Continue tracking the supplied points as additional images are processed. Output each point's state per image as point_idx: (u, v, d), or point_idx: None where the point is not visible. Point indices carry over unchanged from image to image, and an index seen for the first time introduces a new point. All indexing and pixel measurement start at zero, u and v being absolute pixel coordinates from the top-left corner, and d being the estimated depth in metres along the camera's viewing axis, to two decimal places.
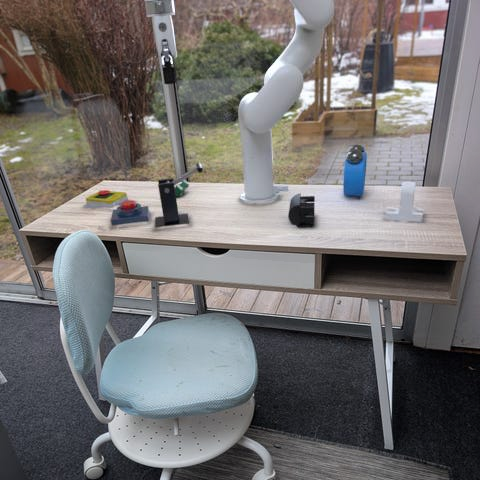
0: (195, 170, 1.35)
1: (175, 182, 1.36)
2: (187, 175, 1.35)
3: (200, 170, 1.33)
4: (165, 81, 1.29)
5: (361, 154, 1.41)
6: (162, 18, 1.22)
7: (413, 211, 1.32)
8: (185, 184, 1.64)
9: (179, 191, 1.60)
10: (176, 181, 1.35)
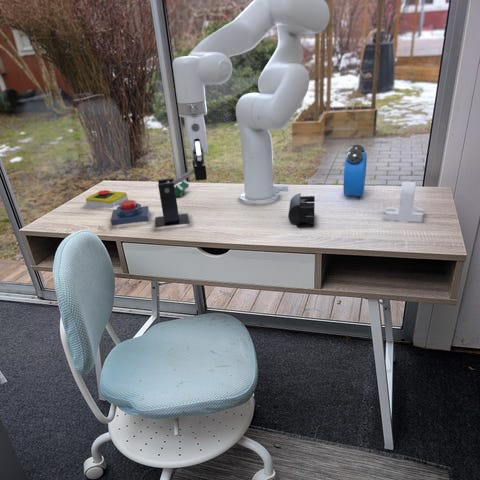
0: None
1: (175, 182, 1.36)
2: (187, 175, 1.35)
3: None
4: (196, 178, 1.33)
5: (361, 154, 1.41)
6: (195, 120, 1.24)
7: (413, 211, 1.32)
8: (185, 184, 1.64)
9: (179, 191, 1.60)
10: (176, 181, 1.35)
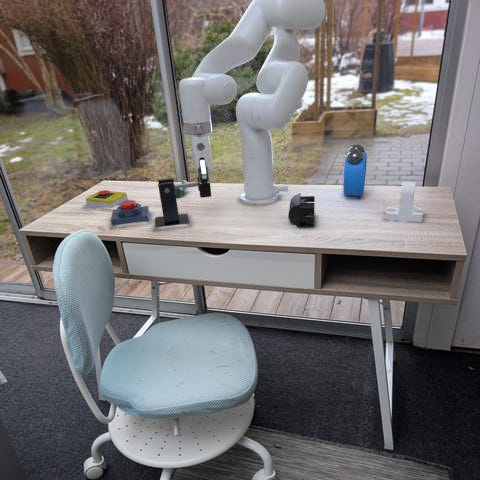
0: None
1: (177, 186, 1.36)
2: (191, 185, 1.37)
3: None
4: (201, 195, 1.36)
5: (361, 154, 1.41)
6: (200, 139, 1.27)
7: (413, 211, 1.32)
8: None
9: (179, 191, 1.60)
10: (178, 186, 1.36)
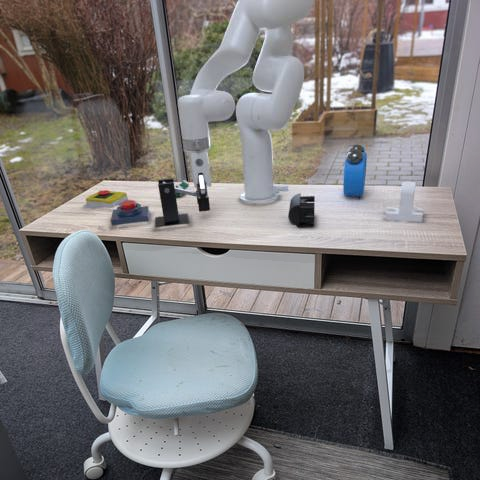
0: None
1: (177, 190, 1.37)
2: (190, 193, 1.38)
3: None
4: (200, 209, 1.38)
5: (361, 154, 1.41)
6: (199, 155, 1.29)
7: (413, 211, 1.32)
8: (185, 184, 1.64)
9: None
10: (178, 190, 1.37)
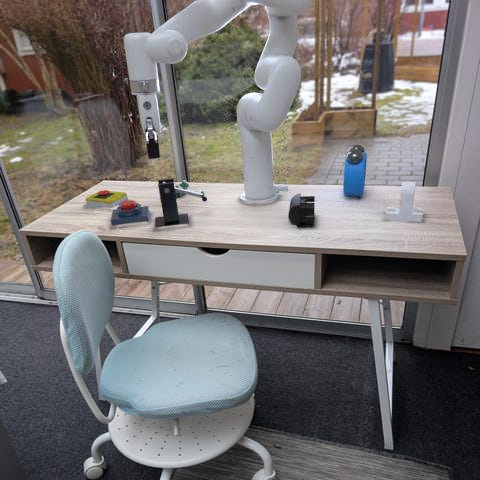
0: (199, 196, 1.39)
1: (177, 190, 1.37)
2: (190, 193, 1.38)
3: (204, 200, 1.37)
4: (149, 156, 1.29)
5: (361, 154, 1.41)
6: (147, 97, 1.22)
7: (413, 211, 1.32)
8: (185, 184, 1.64)
9: None
10: (178, 190, 1.37)
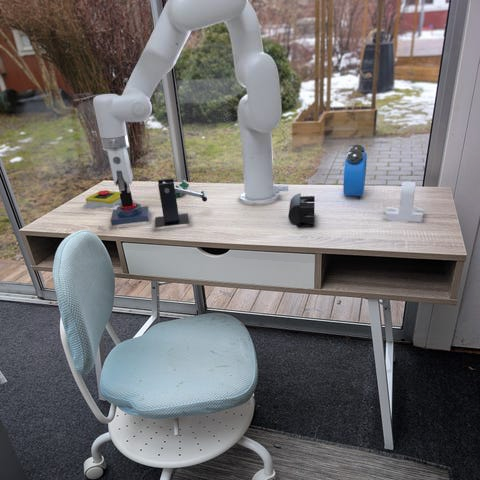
0: (199, 196, 1.39)
1: (177, 190, 1.37)
2: (190, 193, 1.38)
3: (204, 200, 1.37)
4: (123, 204, 1.43)
5: (361, 154, 1.41)
6: (116, 153, 1.31)
7: (413, 211, 1.32)
8: (185, 184, 1.64)
9: None
10: (178, 190, 1.37)
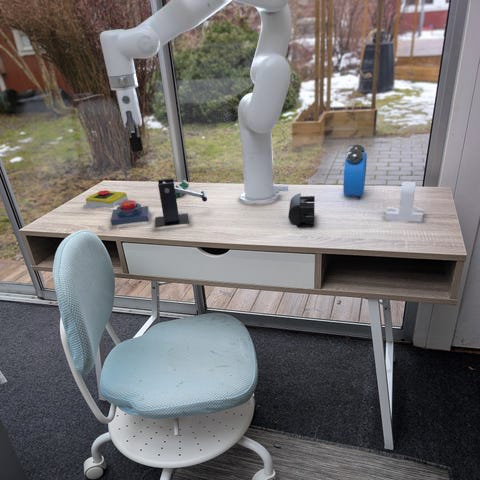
0: (199, 196, 1.39)
1: (177, 190, 1.37)
2: (190, 193, 1.38)
3: (204, 200, 1.37)
4: (133, 149, 1.39)
5: (361, 154, 1.41)
6: (125, 92, 1.28)
7: (413, 211, 1.32)
8: (185, 184, 1.64)
9: None
10: (178, 190, 1.37)
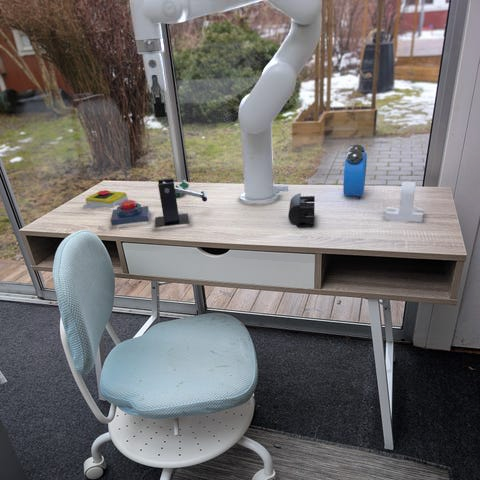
0: (199, 196, 1.39)
1: (177, 190, 1.37)
2: (190, 193, 1.38)
3: (204, 200, 1.37)
4: (156, 115, 1.42)
5: (361, 154, 1.41)
6: (152, 56, 1.30)
7: (413, 211, 1.32)
8: (185, 184, 1.64)
9: None
10: (178, 190, 1.37)
